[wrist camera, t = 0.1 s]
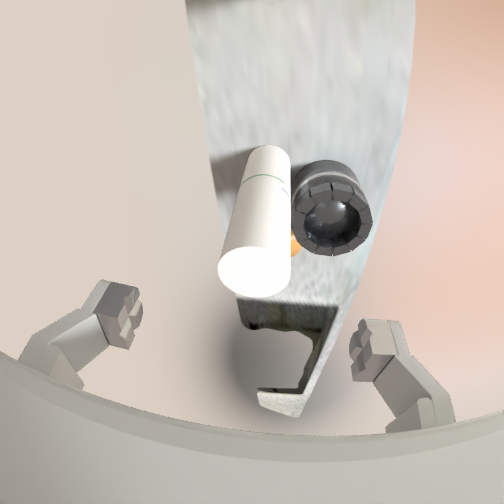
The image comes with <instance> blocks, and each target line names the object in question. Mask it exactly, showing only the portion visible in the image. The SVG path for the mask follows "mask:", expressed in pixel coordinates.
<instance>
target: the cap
mask: <svg viewBox="0 0 504 504" xmlns="http://www.w3.org/2000/svg"><path fill="white" fill-rule="evenodd" d="M300 249H301V245H299V243H298V242H297V240H296V238H295V236H294V233H293V231H292V229H291V255H290V257H292V256H294V255H296V254H297V253H298V252H299V251H300Z"/></svg>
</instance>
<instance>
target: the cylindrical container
mask: <svg viewBox="0 0 504 504" xmlns="http://www.w3.org/2000/svg"><path fill="white" fill-rule="evenodd" d="M290 255H291V185H290V160H289V157H288V155H287V154H286V153H285V152H284V151H283V150H282V149H281V148H279V147H276V146H273V145H263V146H260V147H258V148H256V149H255V150H253V151H252V152H251V154H250V155H249V158H248V161H247V164H246V168H245V171H244V174H243V178H242V181H241V185H240V188H239V192H238V195H237V198H236V202H235V206H234V209H233V213H232V216H231V220H230V224H229V227H228V231H227V235H226V238H225V242H224V246H223V249H222V254H221V257H220V261H219V265H218V274H219V277H220V279H221V281H222V282H223V283H224V284H225V286H227V287H228V288H229V289H230V290H232V291H234V292H236V293H238V294H241V295H244V296H248V297H267V296H271V295H274V294H276V293H278V292H280V291H281V290H283V289H284V288H285V287H286V285H287V284H288V282H289V279H290Z"/></svg>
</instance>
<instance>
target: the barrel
mask: <svg viewBox="0 0 504 504" xmlns="http://www.w3.org/2000/svg"><path fill="white" fill-rule="evenodd" d="M291 204H292V217H291V229H292V231H293V233H294V236H295V238H296V240H297V242H298V243H299V245H301V246H302V247H304V248H305V249H307V250H308V251H310V252H311V253H313V252H314V254H319V255H326V256H332V254H333V256H336V255H340V254H344V253H348V252H350V250H352V251H353V250H354V249H355V248H357V247H358V246H359V245H360V244H362V243H363V242H364V241H365V239H367V237H368V234H369V232H370V229H371V227H372V225H373V224H372V223H373V221H372V216H371V212H370V208H369V205H368V202H367V200H366V198H365V195H364V193H363V190H362V188H361V187H360V184H359V182H358V180H357V177H356V176H355V174H354V173H353V171H352V170H351V169H350V168H348V167H347V166H346V165H344V164H342V163H340V162H336V161H331V160H322V161H317V162H314V163H311V164H309V165H307V166H306V167H304V168H303V169H302V170H301V171H300V172H299V173H298V174H297V176H296V177H295V179H294V182H293V185H292V203H291Z"/></svg>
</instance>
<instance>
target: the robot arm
mask: <svg viewBox="0 0 504 504" xmlns="http://www.w3.org/2000/svg"><path fill="white" fill-rule="evenodd" d="M139 295H140V294H139V290H138V288H136V287H133V286H129V285H124V284H119V283H115V282H111V281H106V280H100V281H99V282H98V283H97V285H96V286H95V288H94V289H93V291H92V292H91V294H90V296H89V297H88V298H87V300H86V302H85V303H84V305H83V307H82V308H81V309H76V310H74V311H73V312H71V313H69V314H67V315H66V316H64V317H62V318H61V319H59V320H57V321H55V322H54V323H52V324H50V325H49V326H47V327H46V328H44V329H42V330H40V331H39V332H37V333H35V334H34V335H32V337H31V338H30V340H29V341H28V343H27V345H26V346H25V348H24V350H23V352H22V354H21V355H20V357H19V359H18V360H15V359H13V358H11V357H9V356H8V355H6V354H4V353H2V352H1V351H0V504H504V410H502V411H499V412H496V413H493V414H489V415H486V416H482V417H478V418H474V419H470V420H466V421H462V422H457V423H456V421H455V416H454V411H453V407H452V403H451V399H450V395H449V394H448V392H447V391H446V390H445V389H444V388H443V387H442V386H441V385H440V384H439V383H438V382H437V381H436V380H435V378H434V377H433V376H432V375H431V374H430V373H429V372H428V371H427V370H426V369H425V368H424V366H423V365H422V364H421V363H420V362H419V361H418V360H417V359H416V358H415V357H414V356H410V353H409V350H408V346H407V343H406V339H405V336H404V333H403V329H402V326H401V323H400V322H399V321H389V320H387V321H386V320H375V319H362V320H361V321H360V322H359V324H358V329H359V330H358V331H356V332H354V333H353V335H352V337H351V340H350V344H349V354H350V357H351V358H352V360H353V361H354V363H353V364H352V366H351V369H352V377H353V381H358V382H373V384H374V386H375V387H376V389H377V390H378V391H379V393H380V394H381V396H382V397H383V399H384V400H385V402H386V403H387V405H388V406H389V408H390V409H391V411H392V412H393V414H394V415H395V417H396V419H395V420H394V421H392V422H391V423H389V424H388V425H387V426H386V427H385V428H386V433H384V434H371V435H353V436H352V435H351V436H303V435H284V434H270V433H259V432H251V431H242V430H235V429H228V428H221V427H215V426H209V425H204V424H198V423H193V422H188V421H184V420H178V419H174V418H170V417H165V416H162V415H158V414H154V413H150V412H147V411H143V410H139V409H136V408H133V407H129V406H126V405H123V404H120V403H116V402H113V401H110V400H107V399H104V398H102V397H99V396H96V395H93V394H90V393H88V392H85V391H83V390H82V389H83V386H84V384H83V381H82V380H81V378H80V377H79V376H78V374H77V372H78V371H79V370H81V369H82V368H83V367H84V366H85V365H87V364H88V363H89V362H90V361H92V360H93V359H94V358H95V357H96V356H98V355H99V354H100V353H101V352H103V351H104V350H105V349H106V348H107V347H108V346H109V345H112V346H116V347H120V348H124V349H128V350H129V348H130V346H131V343H132V341H133V339H134V336H135V335H134V332H133V330H134V329H136V328H138V327H139V325H140V322H141V318H142V314H143V309H142V308H143V307H142V303H141V302H140V301H139V300H138V297H139Z"/></svg>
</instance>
